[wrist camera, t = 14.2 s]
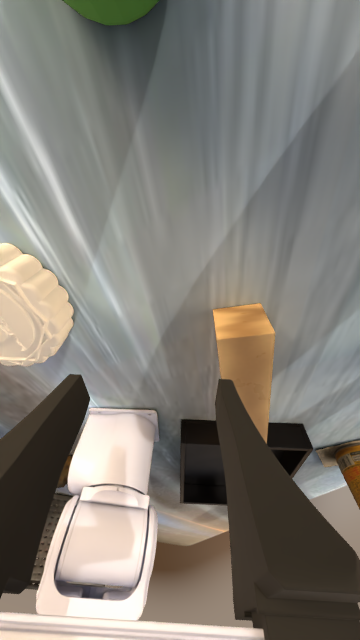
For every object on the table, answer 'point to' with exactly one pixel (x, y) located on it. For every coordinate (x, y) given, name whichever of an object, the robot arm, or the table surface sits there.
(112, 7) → the wine bottle
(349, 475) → the condiment
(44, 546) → the storage bin
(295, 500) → the robot arm
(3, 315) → the mooncake
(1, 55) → the table surface
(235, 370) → the stick
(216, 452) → the black tray
